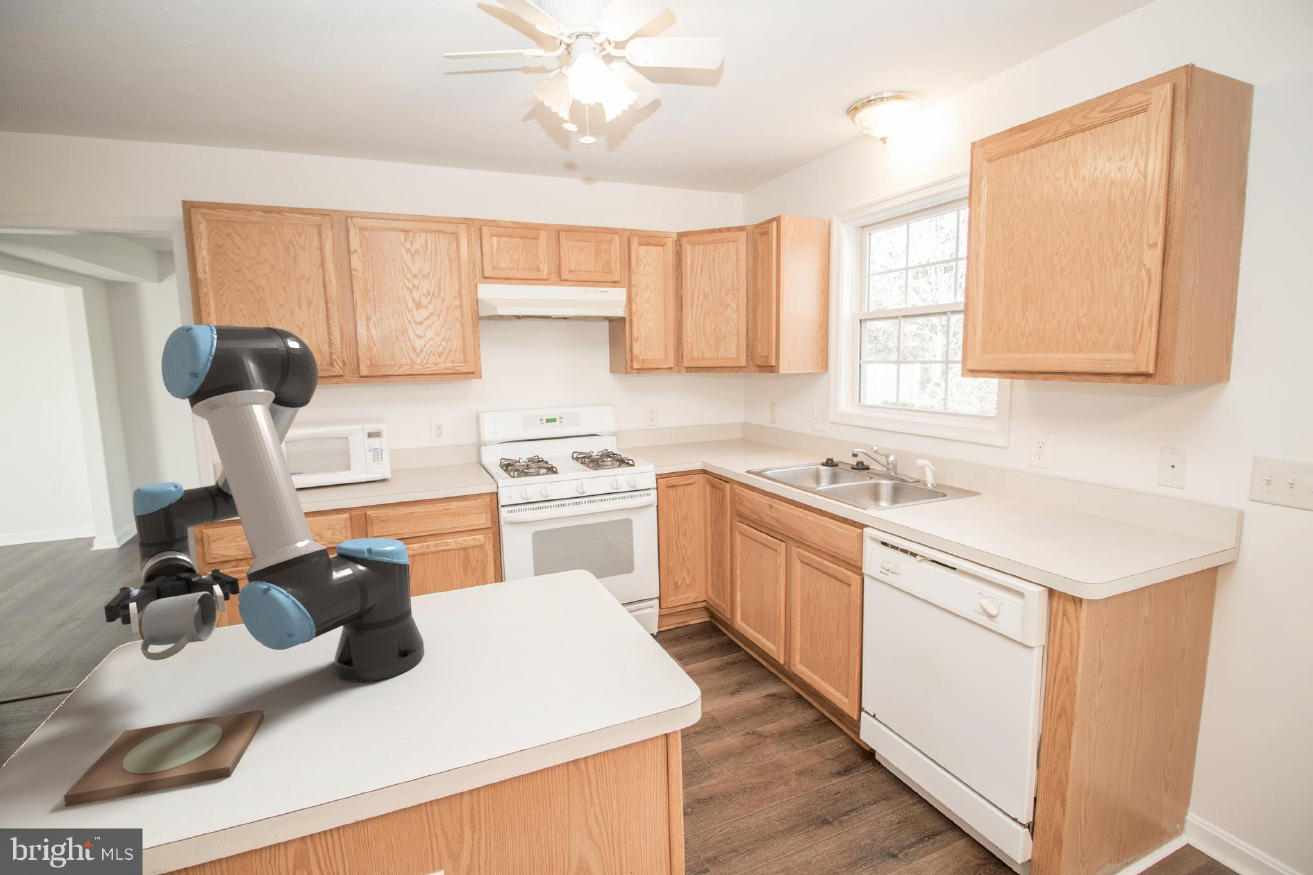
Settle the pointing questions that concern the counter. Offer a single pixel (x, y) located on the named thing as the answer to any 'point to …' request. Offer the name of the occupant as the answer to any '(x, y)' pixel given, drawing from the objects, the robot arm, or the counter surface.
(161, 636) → the speckled gray mug
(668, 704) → the counter surface
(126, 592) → the robot arm
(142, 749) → the walnut board
